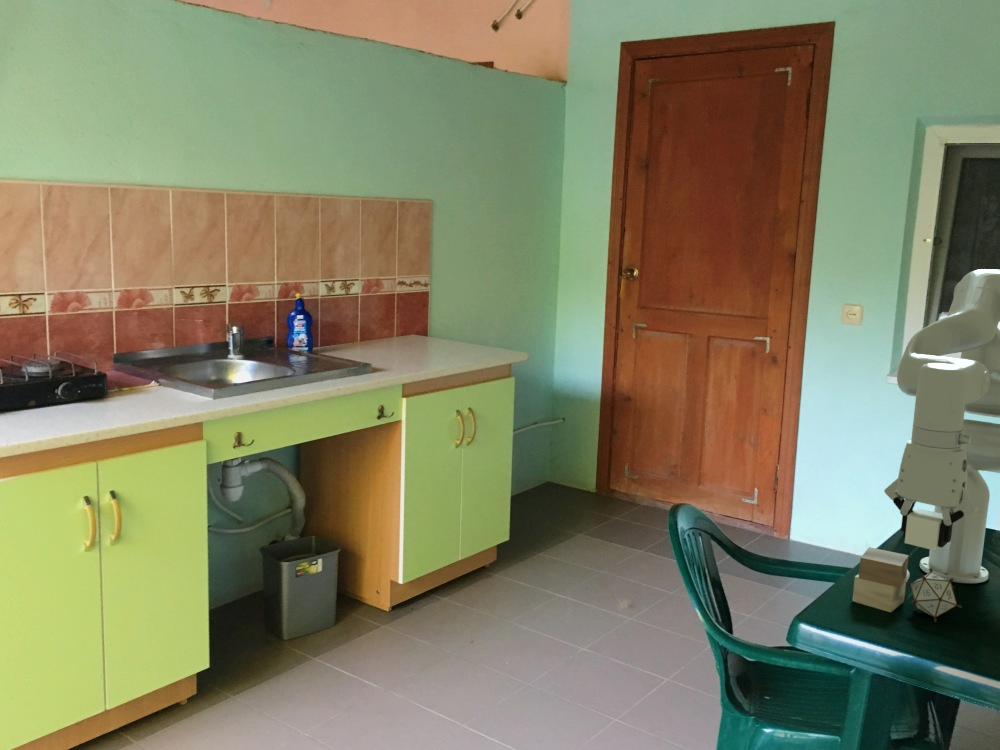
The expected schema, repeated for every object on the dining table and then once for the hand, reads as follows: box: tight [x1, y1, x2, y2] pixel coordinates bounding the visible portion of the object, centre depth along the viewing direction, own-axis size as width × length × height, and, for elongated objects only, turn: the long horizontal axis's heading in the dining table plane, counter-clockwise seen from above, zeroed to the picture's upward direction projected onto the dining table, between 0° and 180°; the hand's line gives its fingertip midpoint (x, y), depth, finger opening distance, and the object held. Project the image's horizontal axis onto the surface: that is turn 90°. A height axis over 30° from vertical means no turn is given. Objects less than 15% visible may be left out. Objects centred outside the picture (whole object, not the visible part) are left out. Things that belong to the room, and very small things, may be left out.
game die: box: [905, 568, 962, 623], centre depth 167 cm, size 9×8×10 cm
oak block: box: [852, 573, 907, 613], centre depth 173 cm, size 7×7×5 cm
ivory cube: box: [904, 507, 943, 551], centre depth 158 cm, size 5×5×5 cm
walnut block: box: [858, 547, 909, 587], centre depth 172 cm, size 7×7×4 cm
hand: (925, 539), depth 158 cm, fingers closed on ivory cube, 5 cm apart
